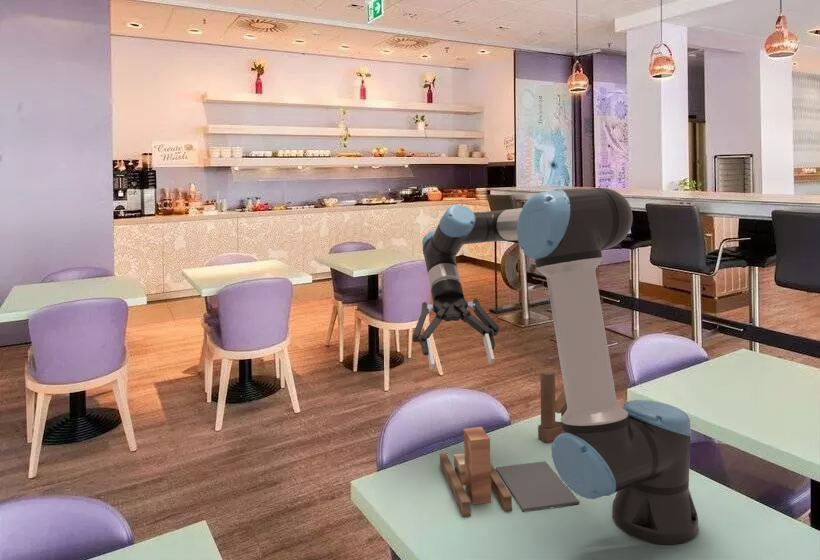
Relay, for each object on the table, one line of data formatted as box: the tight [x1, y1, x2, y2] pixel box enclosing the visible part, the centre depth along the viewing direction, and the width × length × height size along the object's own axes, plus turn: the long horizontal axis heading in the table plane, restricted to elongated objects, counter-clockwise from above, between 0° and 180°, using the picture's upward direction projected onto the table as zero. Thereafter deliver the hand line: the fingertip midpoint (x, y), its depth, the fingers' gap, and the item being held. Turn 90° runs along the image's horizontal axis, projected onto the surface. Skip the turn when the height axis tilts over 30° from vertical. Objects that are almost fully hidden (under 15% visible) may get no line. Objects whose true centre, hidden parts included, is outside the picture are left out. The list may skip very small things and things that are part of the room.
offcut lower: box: [454, 466, 465, 486], centre depth 132 cm, size 5×5×2 cm
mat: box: [495, 460, 580, 512], centre depth 128 cm, size 18×12×1 cm, turn 9°
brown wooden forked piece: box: [537, 369, 567, 444], centre depth 150 cm, size 4×11×18 cm, turn 113°
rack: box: [439, 452, 513, 517], centre depth 128 cm, size 22×10×3 cm, turn 9°
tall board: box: [462, 426, 492, 505], centre depth 124 cm, size 6×4×14 cm, turn 9°
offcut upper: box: [453, 452, 465, 475], centre depth 132 cm, size 5×5×2 cm
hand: (462, 364), depth 131 cm, fingers open, 13 cm apart
